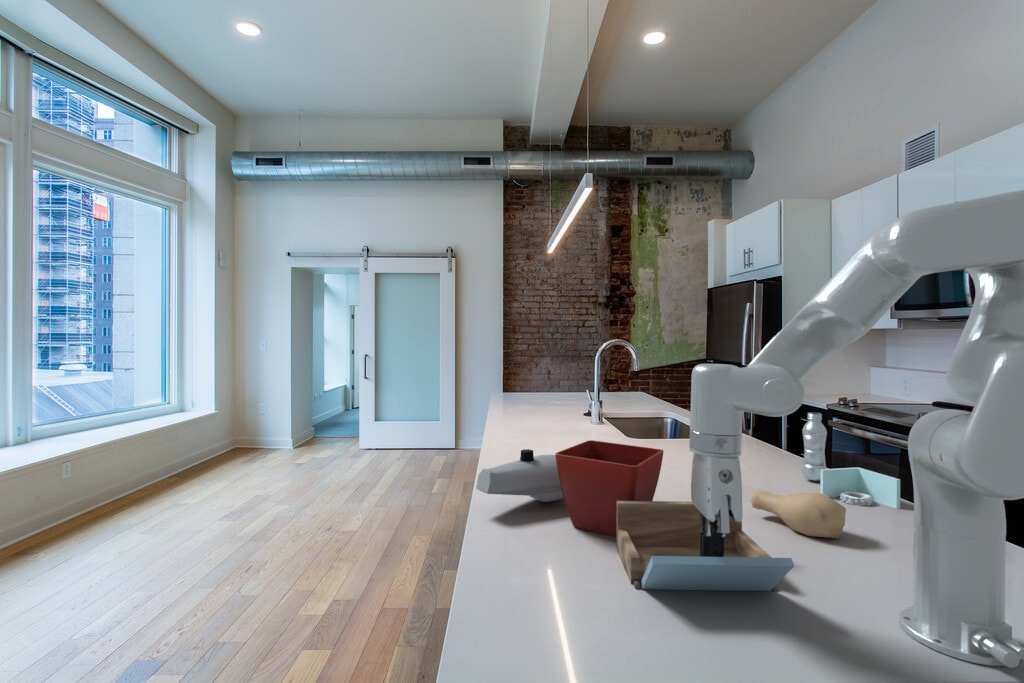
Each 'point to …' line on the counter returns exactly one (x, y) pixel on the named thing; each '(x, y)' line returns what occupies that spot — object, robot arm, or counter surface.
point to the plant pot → (605, 481)
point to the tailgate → (715, 573)
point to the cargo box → (669, 535)
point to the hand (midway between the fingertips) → (711, 558)
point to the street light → (524, 478)
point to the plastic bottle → (814, 447)
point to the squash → (804, 512)
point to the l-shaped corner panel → (860, 486)
